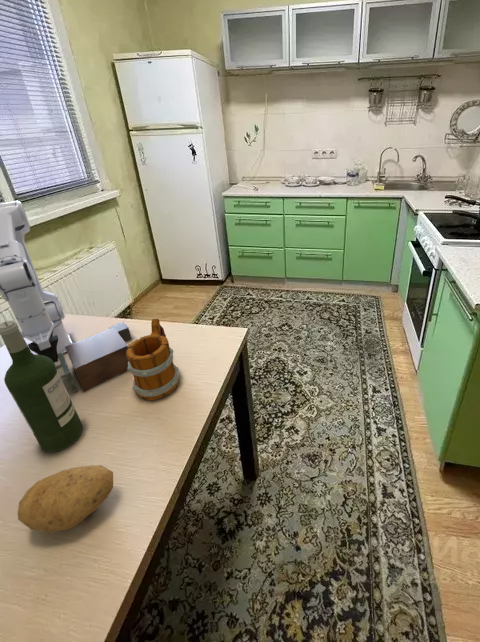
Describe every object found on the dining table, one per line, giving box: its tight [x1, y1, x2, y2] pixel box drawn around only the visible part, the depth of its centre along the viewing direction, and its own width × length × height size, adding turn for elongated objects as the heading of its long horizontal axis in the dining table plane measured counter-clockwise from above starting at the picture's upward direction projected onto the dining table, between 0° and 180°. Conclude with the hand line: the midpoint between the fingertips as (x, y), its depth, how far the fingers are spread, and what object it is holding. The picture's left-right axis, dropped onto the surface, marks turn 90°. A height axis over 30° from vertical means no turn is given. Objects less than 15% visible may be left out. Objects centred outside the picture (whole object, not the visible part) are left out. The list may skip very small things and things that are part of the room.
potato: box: [17, 464, 114, 533], centre depth 56 cm, size 10×14×8 cm
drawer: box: [55, 352, 79, 393], centre depth 85 cm, size 16×10×6 cm, turn 132°
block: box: [108, 321, 133, 343], centre depth 101 cm, size 4×4×4 cm
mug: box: [126, 318, 180, 401], centre depth 83 cm, size 11×16×15 cm, turn 5°
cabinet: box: [65, 327, 129, 392], centre depth 88 cm, size 13×12×8 cm
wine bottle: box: [0, 320, 84, 453], centre depth 64 cm, size 8×8×30 cm
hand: (51, 358), depth 80 cm, fingers open, 4 cm apart
